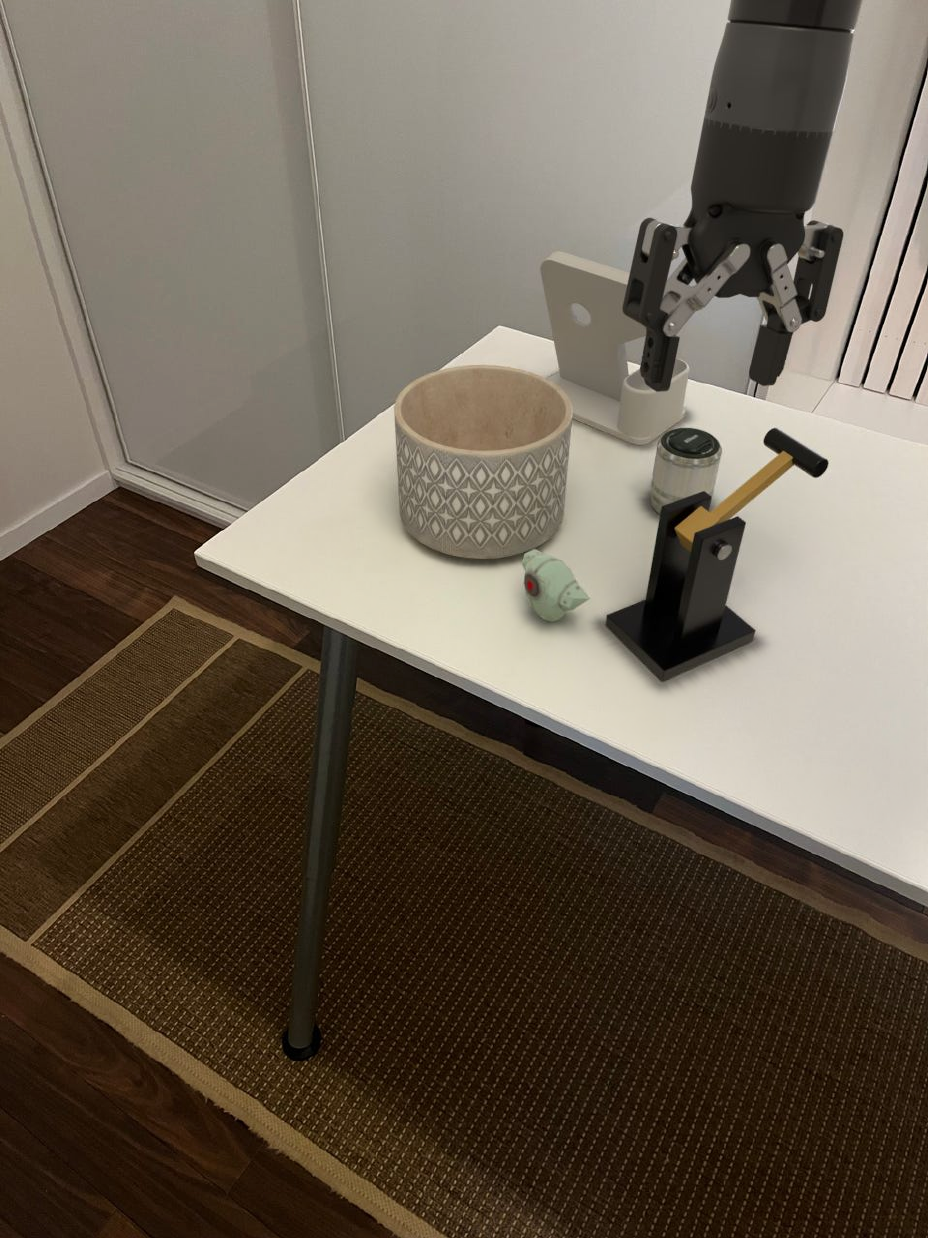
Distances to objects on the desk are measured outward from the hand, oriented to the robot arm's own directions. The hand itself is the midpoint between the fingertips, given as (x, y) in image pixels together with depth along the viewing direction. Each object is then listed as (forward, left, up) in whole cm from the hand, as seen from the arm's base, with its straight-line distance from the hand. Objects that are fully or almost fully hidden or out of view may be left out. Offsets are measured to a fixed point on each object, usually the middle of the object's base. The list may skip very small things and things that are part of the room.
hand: (709, 385), depth 64 cm
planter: (+24, -5, -25) cm, 35 cm away
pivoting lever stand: (0, -3, -25) cm, 25 cm away
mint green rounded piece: (+10, +3, -25) cm, 27 cm away
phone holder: (+27, -32, -25) cm, 48 cm away
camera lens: (+10, -20, -25) cm, 33 cm away
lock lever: (-2, -7, -13) cm, 15 cm away
